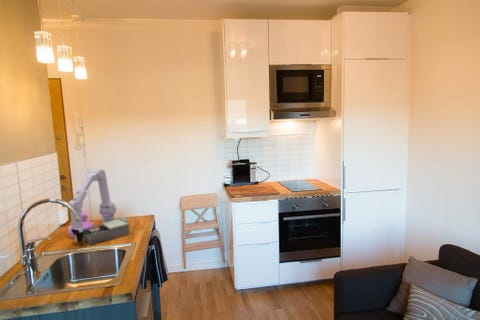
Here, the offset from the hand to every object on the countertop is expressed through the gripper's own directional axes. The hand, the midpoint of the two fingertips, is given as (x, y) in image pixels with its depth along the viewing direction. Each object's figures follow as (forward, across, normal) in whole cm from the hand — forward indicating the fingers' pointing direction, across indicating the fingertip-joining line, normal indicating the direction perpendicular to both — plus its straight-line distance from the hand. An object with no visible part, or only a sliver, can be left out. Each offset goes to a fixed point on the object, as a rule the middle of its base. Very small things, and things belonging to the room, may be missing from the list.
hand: (78, 240), depth 188 cm
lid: (-5, +2, +22) cm, 23 cm away
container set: (+2, -20, +8) cm, 21 cm away
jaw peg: (+2, 0, 0) cm, 2 cm away
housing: (+2, +2, +16) cm, 16 cm away
